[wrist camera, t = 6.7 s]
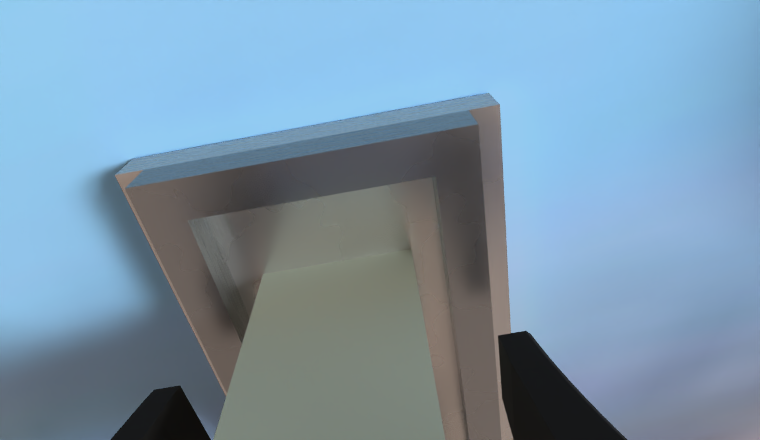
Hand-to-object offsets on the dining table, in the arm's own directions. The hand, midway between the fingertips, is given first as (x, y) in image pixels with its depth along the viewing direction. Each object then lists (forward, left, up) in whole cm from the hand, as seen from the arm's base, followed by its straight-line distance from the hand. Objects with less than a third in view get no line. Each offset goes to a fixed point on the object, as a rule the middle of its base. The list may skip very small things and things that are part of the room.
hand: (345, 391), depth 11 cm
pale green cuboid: (0, 0, -3) cm, 3 cm away
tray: (-5, 0, -4) cm, 6 cm away
